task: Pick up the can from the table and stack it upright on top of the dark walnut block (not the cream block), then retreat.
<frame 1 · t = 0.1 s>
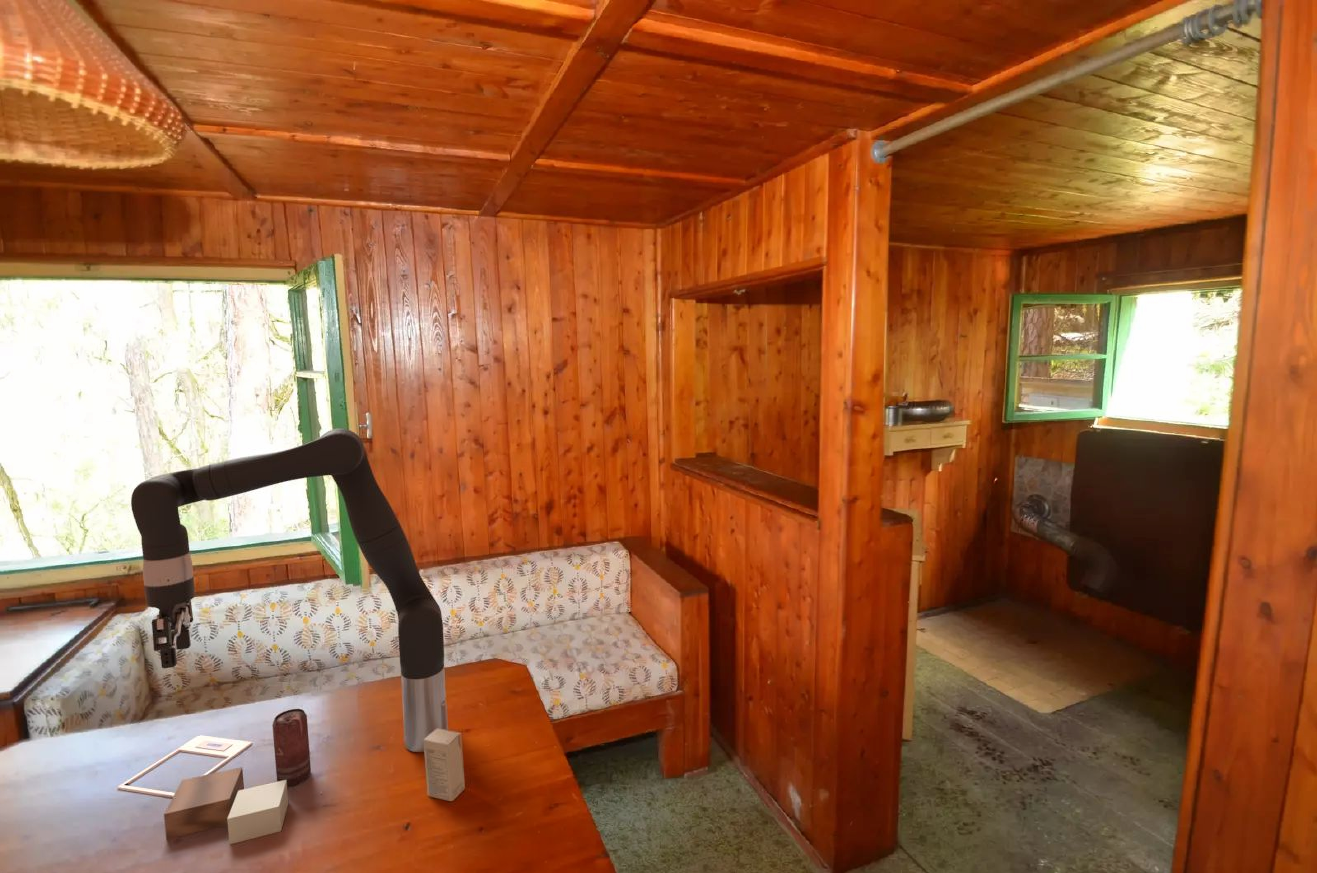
hand: (177, 657, 119), 29 cm above the table, fingers open, 8 cm apart
cream block: (260, 822, 115), on the table
can: (295, 779, 127), on the table
photo frame: (189, 768, 132), on the table
walnut block: (207, 813, 117), on the table
skincare box: (445, 793, 123), on the table
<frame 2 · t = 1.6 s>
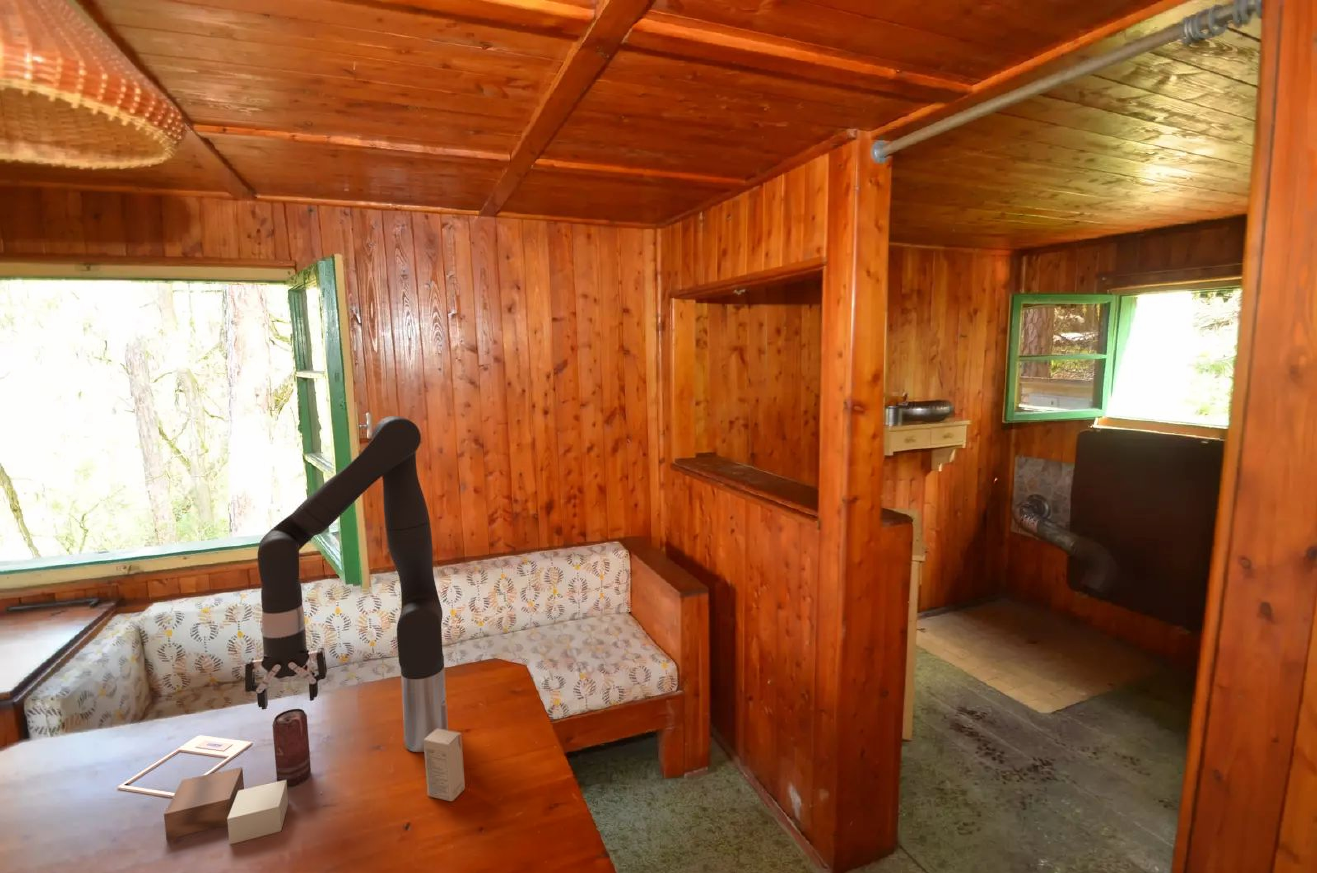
hand: (288, 703, 125), 17 cm above the table, fingers open, 8 cm apart
nothing on the table moved.
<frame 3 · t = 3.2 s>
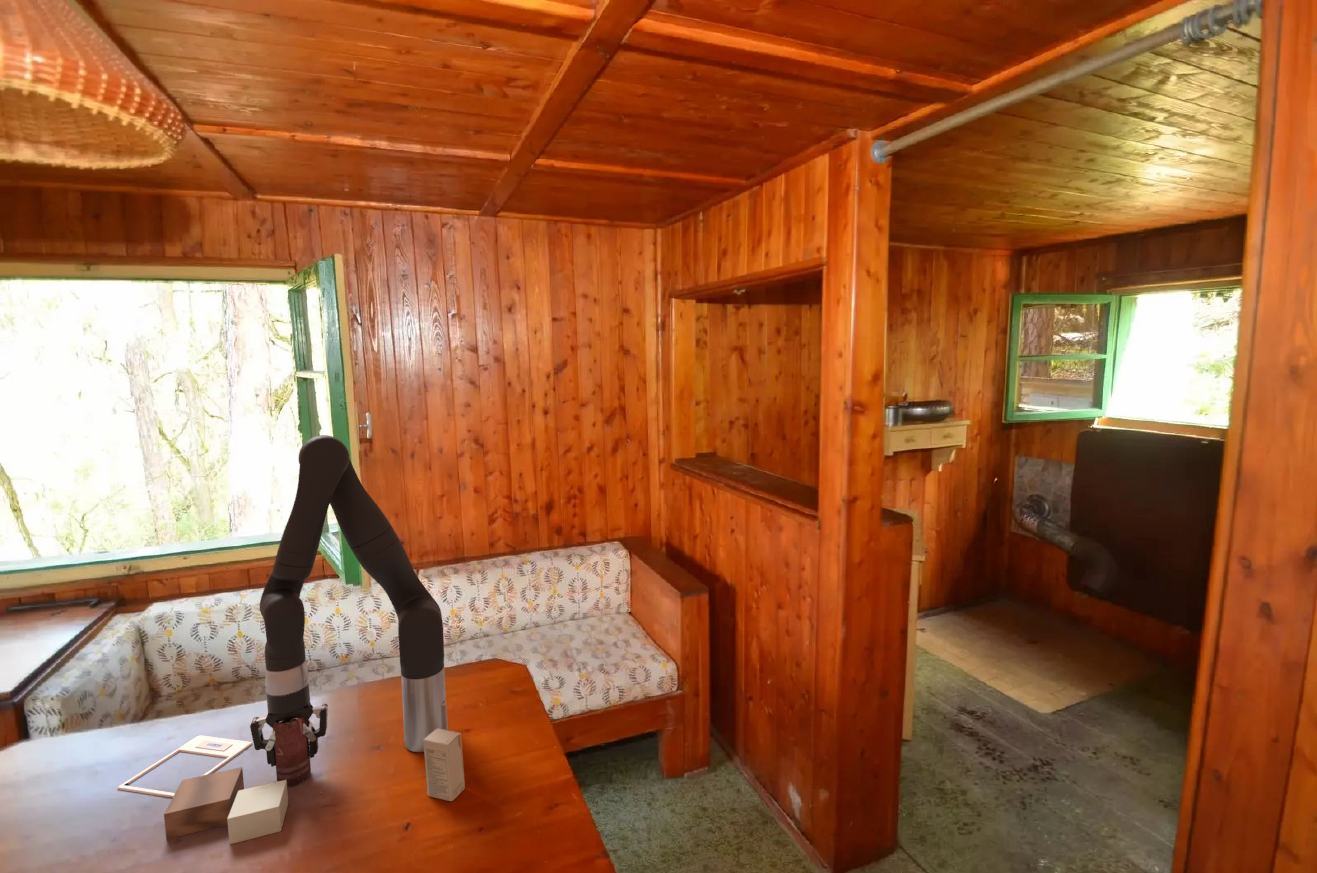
hand: (293, 759, 127), 4 cm above the table, fingers open, 6 cm apart
nothing on the table moved.
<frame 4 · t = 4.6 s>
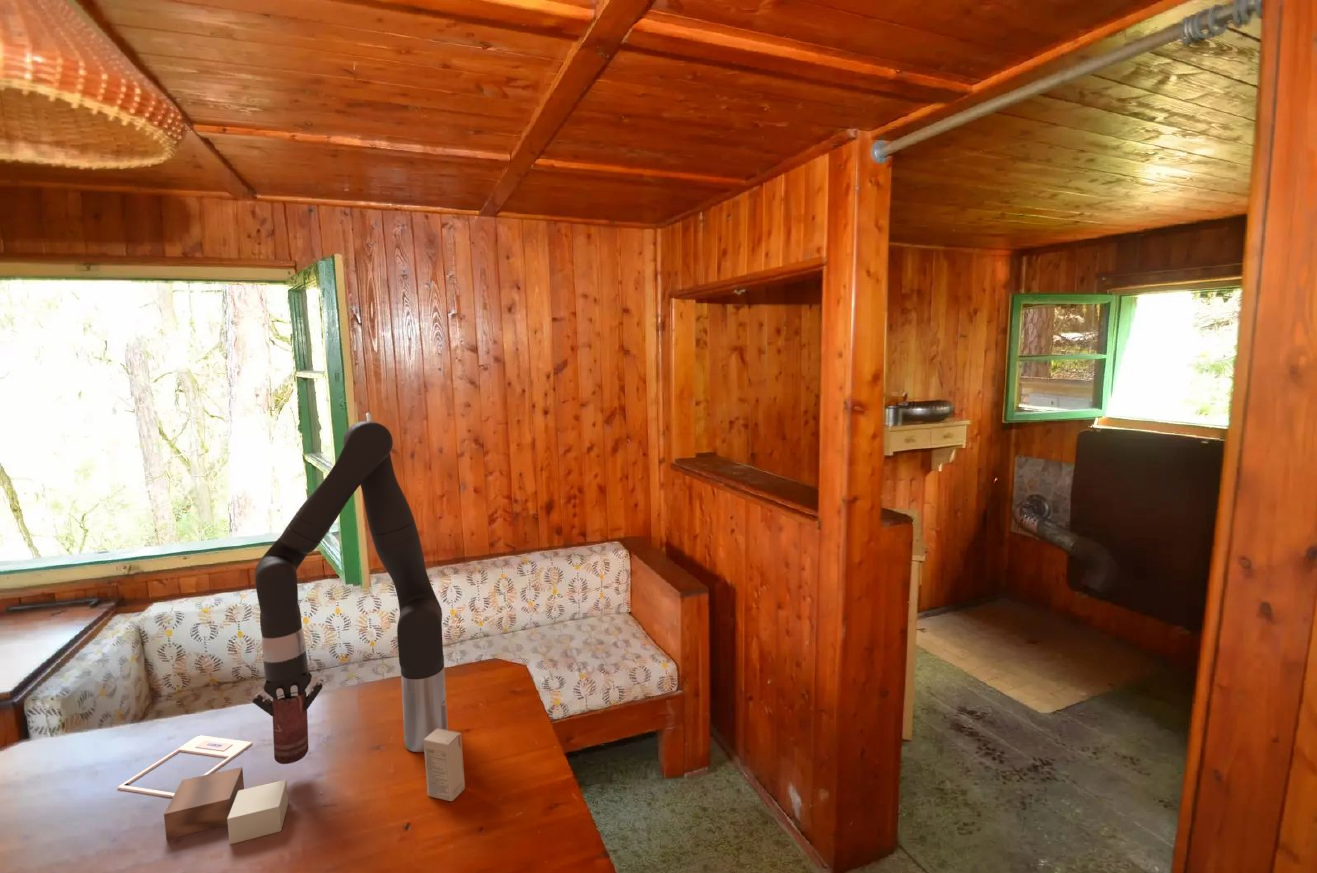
hand: (293, 730, 126), 11 cm above the table, fingers closed
can: (292, 756, 127), point 5 cm above the table, touching hand
everything else where it was.
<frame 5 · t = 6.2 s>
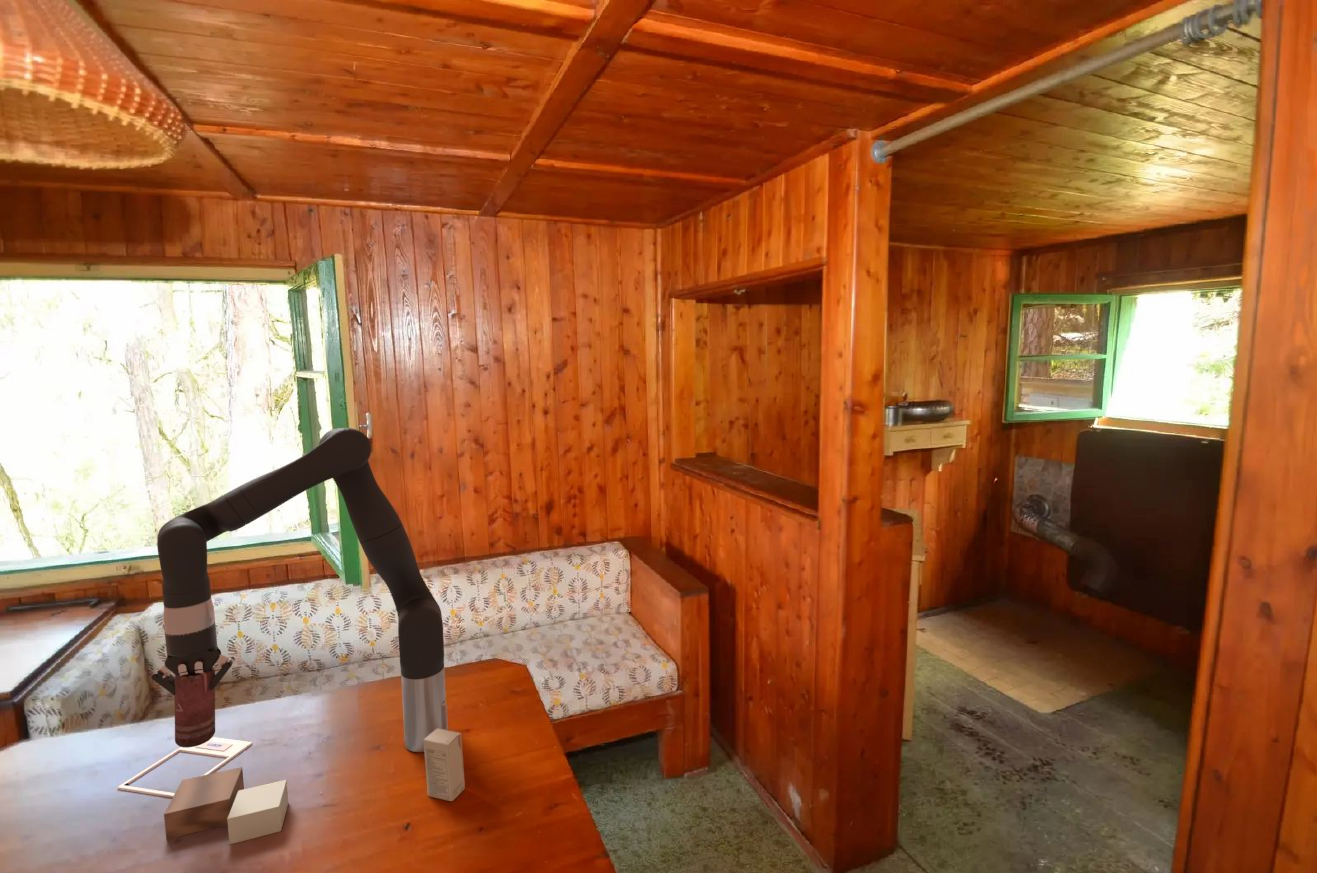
hand: (198, 711, 115), 21 cm above the table, fingers closed
can: (196, 740, 116), point 15 cm above the table, touching hand
everything else where it was.
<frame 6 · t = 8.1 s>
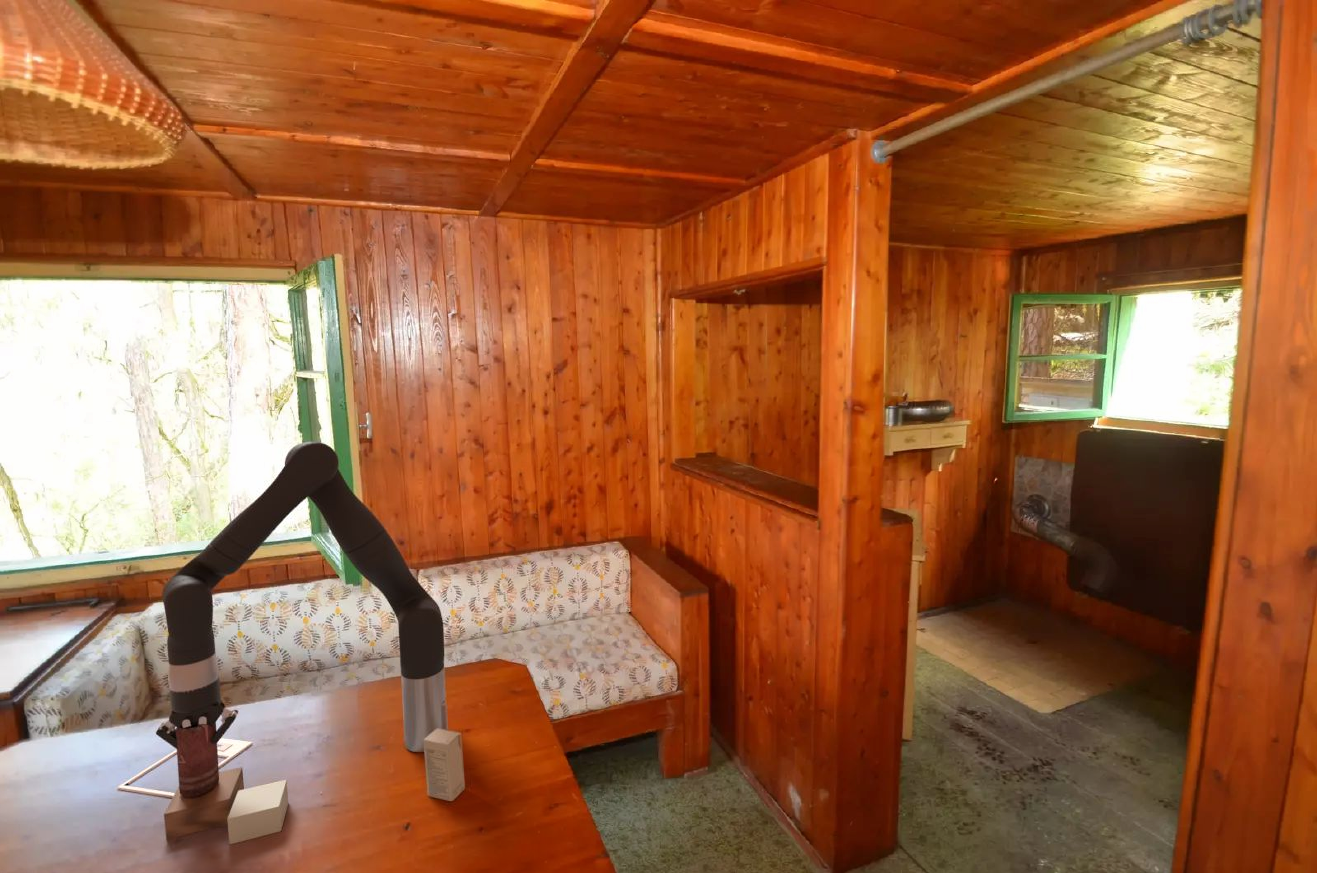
hand: (202, 765, 116), 10 cm above the table, fingers closed
can: (200, 789, 117), point 5 cm above the table, touching walnut block
everything else where it was.
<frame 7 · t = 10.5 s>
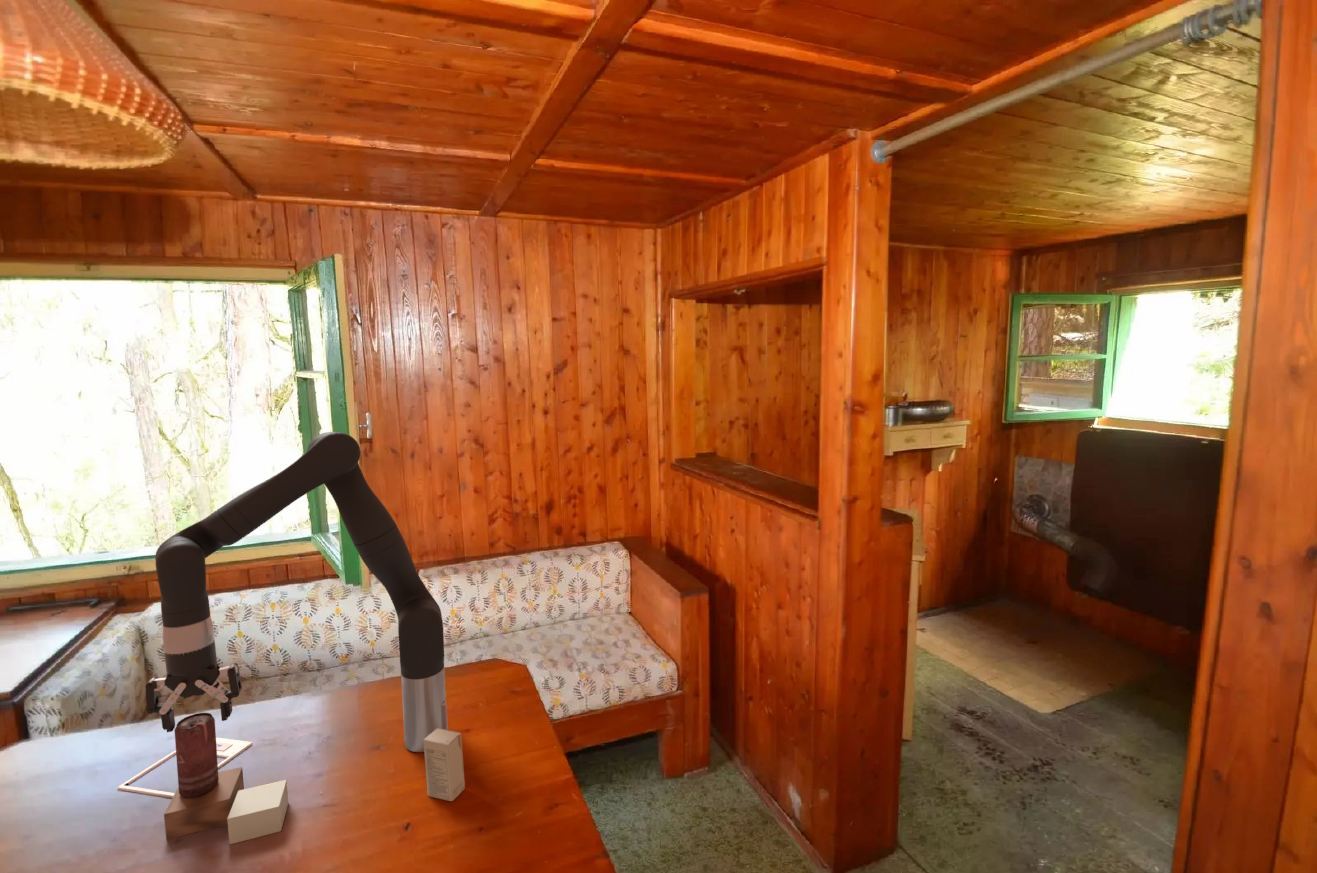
hand: (198, 724, 115), 18 cm above the table, fingers open, 8 cm apart
nothing on the table moved.
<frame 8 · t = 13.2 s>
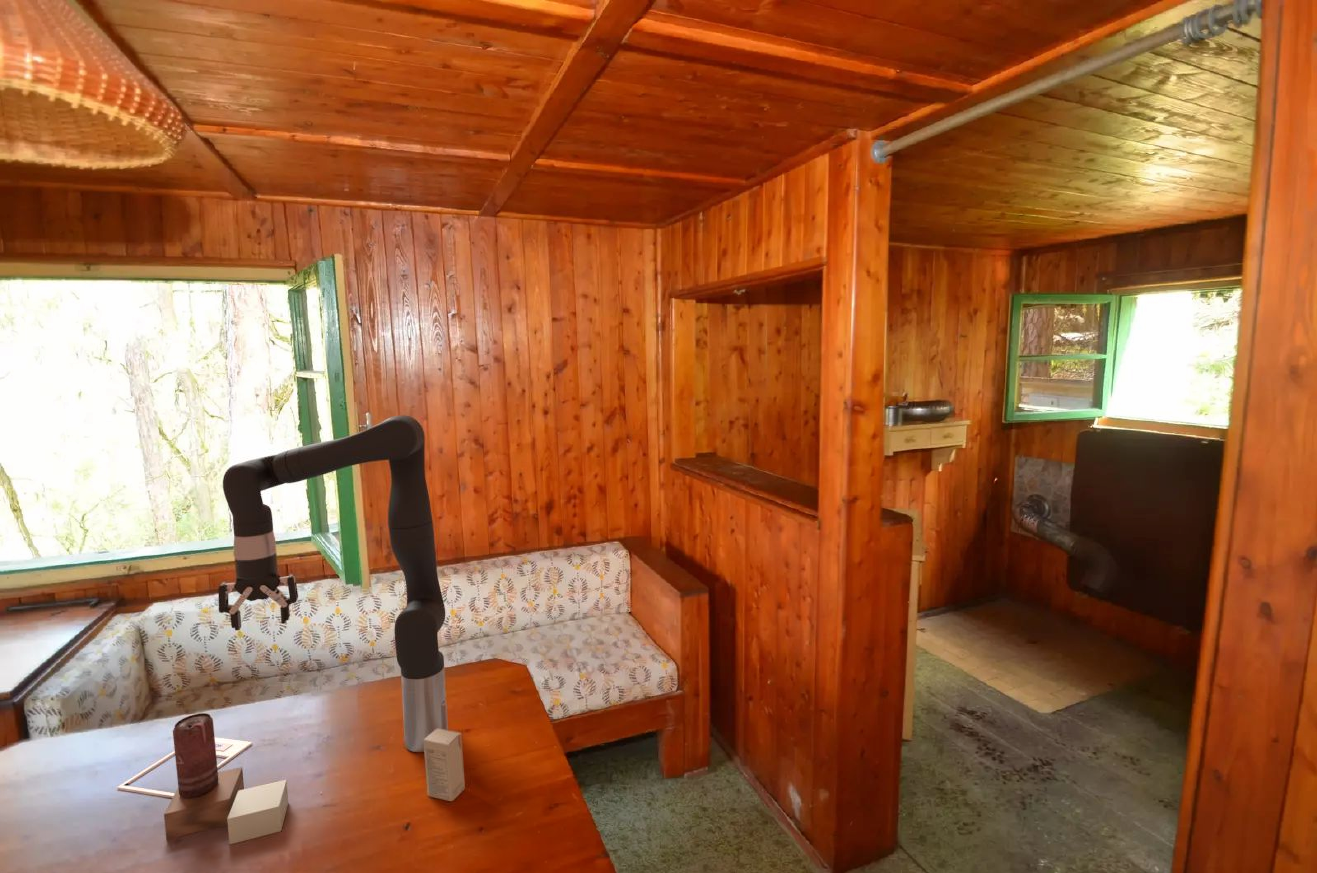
hand: (261, 625, 132), 30 cm above the table, fingers open, 8 cm apart
nothing on the table moved.
at the end: can inside the target area on the walnut block (1.1 cm from its centre), point 4.8 cm above the walnut block's base; can tilted 0°; can touching walnut block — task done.
